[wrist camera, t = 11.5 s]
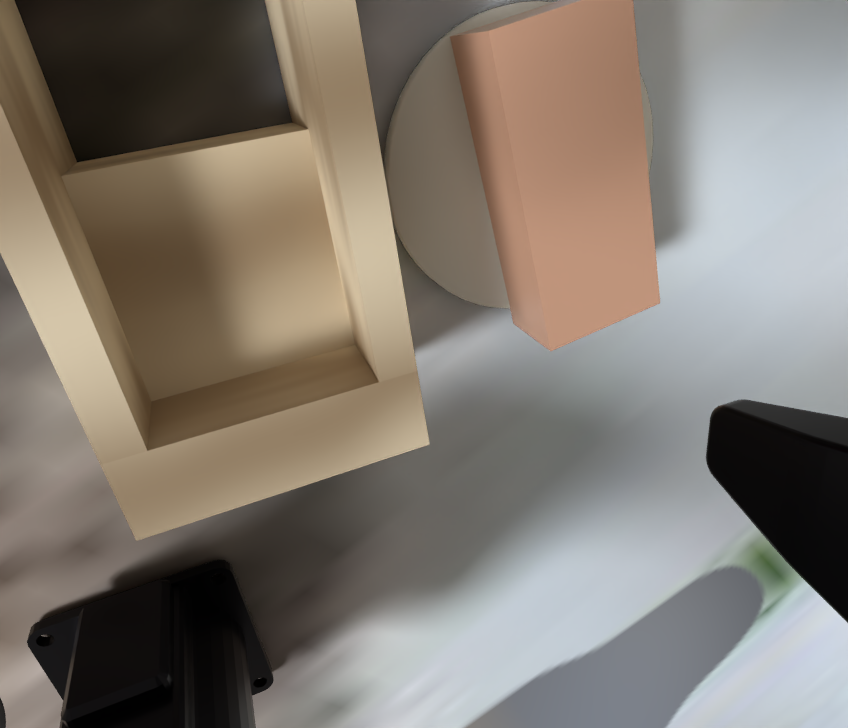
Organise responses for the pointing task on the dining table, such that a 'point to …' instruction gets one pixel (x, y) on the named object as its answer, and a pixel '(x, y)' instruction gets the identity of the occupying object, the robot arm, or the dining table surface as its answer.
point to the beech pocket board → (218, 284)
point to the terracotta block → (563, 163)
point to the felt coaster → (449, 174)
